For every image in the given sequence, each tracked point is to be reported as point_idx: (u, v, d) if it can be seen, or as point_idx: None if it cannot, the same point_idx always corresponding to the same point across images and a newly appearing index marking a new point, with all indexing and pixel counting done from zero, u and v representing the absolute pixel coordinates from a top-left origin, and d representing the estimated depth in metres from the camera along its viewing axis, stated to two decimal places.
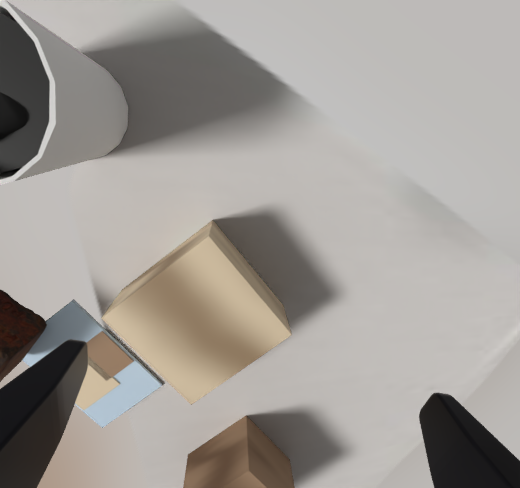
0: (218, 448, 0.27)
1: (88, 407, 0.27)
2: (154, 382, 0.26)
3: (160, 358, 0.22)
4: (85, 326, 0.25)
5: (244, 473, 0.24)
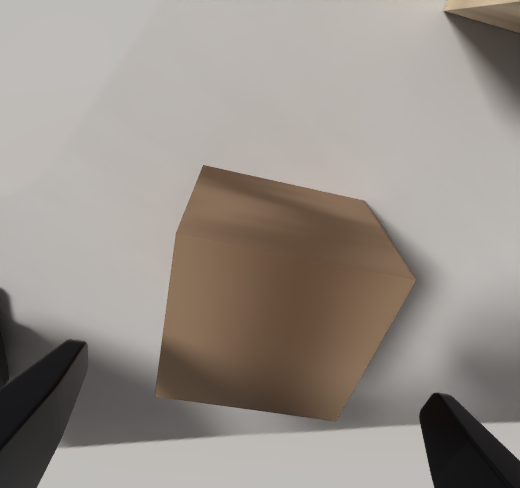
0: (296, 200, 0.12)
1: None
2: None
3: None
4: None
5: (402, 276, 0.09)
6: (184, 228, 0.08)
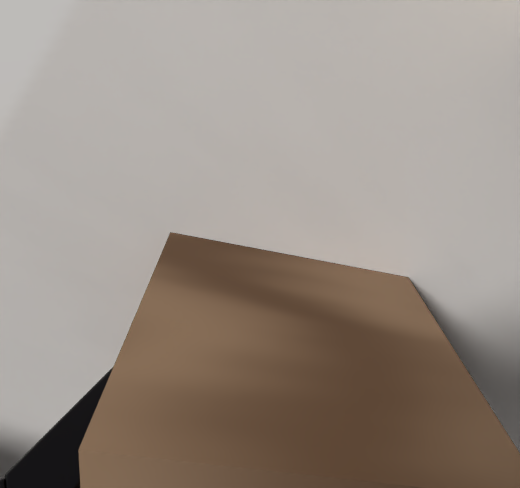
0: (312, 297, 0.07)
1: None
2: None
3: None
4: None
5: None
6: (101, 427, 0.04)
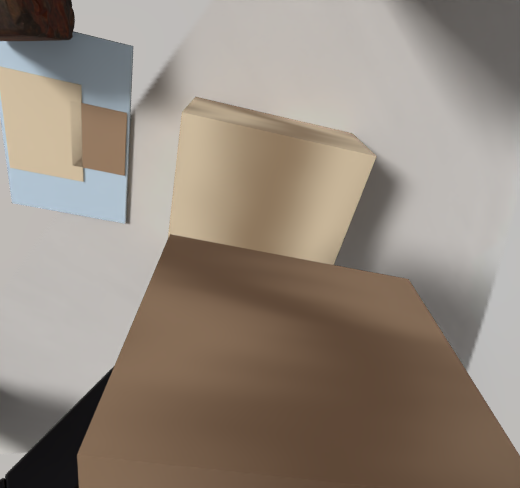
0: (312, 300, 0.07)
1: (18, 170, 0.18)
2: (121, 214, 0.20)
3: (189, 213, 0.16)
4: (114, 88, 0.17)
5: None
6: (100, 431, 0.04)
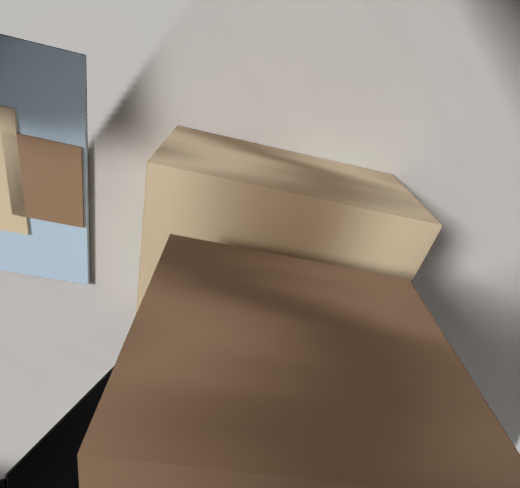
0: (312, 299, 0.07)
1: None
2: (82, 273, 0.15)
3: None
4: (62, 113, 0.12)
5: None
6: (100, 431, 0.04)
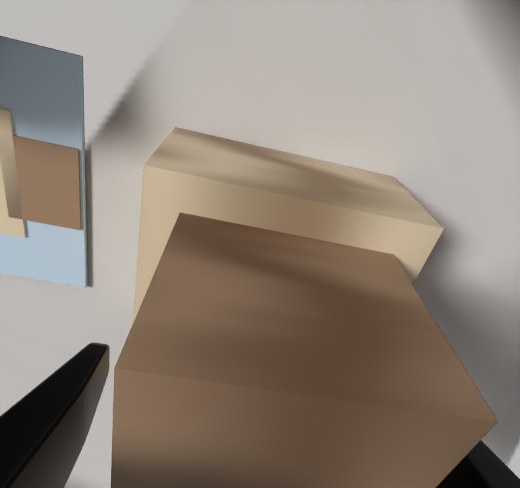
0: (305, 267, 0.08)
1: None
2: (79, 276, 0.15)
3: None
4: (59, 115, 0.12)
5: (476, 416, 0.06)
6: (131, 353, 0.05)
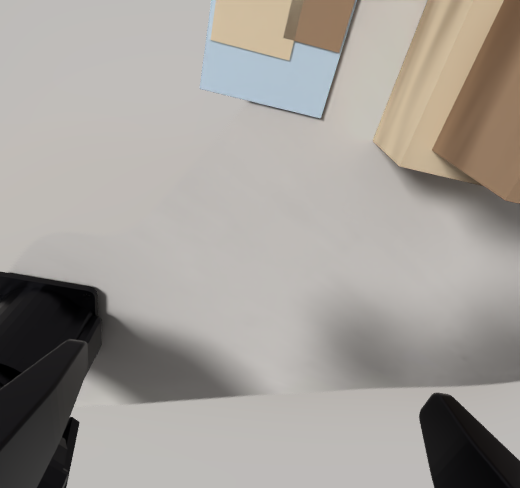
0: None
1: (218, 44, 0.16)
2: (319, 105, 0.17)
3: (463, 72, 0.13)
4: None
5: None
6: None
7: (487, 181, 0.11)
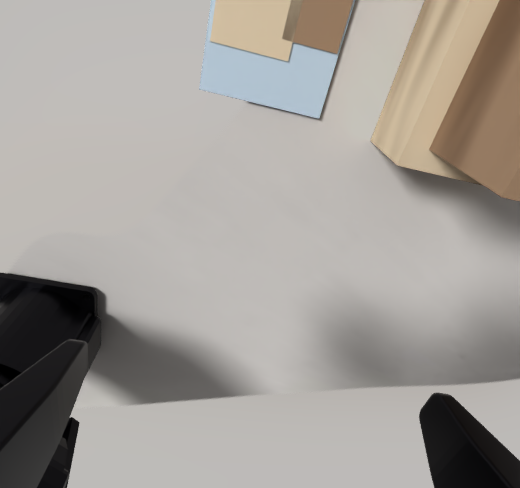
0: None
1: (218, 45, 0.16)
2: (318, 106, 0.17)
3: (459, 73, 0.13)
4: None
5: None
6: None
7: (484, 179, 0.11)
